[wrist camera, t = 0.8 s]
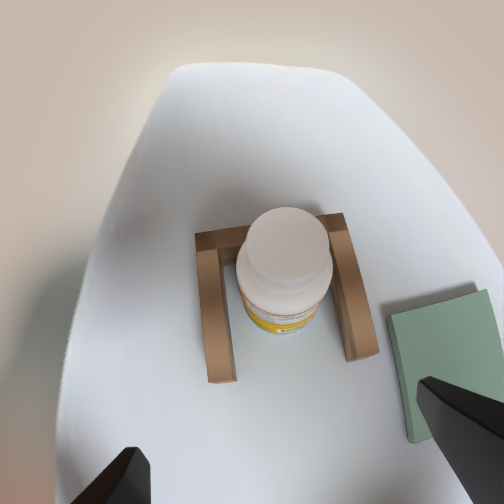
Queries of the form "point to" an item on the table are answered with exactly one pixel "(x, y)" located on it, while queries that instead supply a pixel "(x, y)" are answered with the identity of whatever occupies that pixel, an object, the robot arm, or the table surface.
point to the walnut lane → (215, 303)
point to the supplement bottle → (284, 269)
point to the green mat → (447, 352)
